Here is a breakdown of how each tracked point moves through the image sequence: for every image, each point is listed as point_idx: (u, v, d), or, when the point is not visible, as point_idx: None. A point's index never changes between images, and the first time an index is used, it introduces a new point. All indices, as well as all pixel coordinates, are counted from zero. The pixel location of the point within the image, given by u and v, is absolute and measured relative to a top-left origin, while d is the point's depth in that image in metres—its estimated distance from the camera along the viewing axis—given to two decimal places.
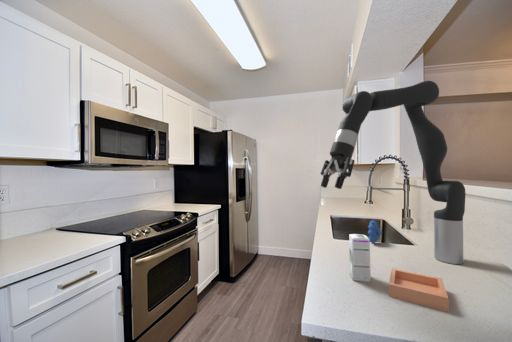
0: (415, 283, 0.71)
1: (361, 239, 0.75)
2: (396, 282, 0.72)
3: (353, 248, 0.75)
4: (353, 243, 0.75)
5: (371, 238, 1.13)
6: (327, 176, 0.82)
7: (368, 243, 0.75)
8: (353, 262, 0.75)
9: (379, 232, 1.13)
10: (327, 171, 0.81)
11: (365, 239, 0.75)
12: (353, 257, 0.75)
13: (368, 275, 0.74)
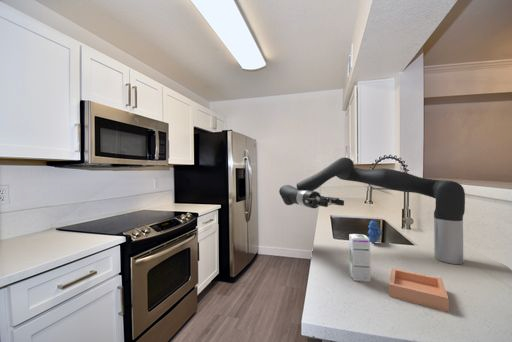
0: (415, 283, 0.71)
1: (361, 239, 0.75)
2: (396, 282, 0.72)
3: (353, 248, 0.75)
4: (353, 243, 0.75)
5: (371, 238, 1.13)
6: (335, 201, 0.93)
7: (368, 243, 0.75)
8: (353, 262, 0.75)
9: (379, 232, 1.13)
10: (330, 204, 0.94)
11: (365, 239, 0.75)
12: (353, 257, 0.75)
13: (368, 275, 0.74)
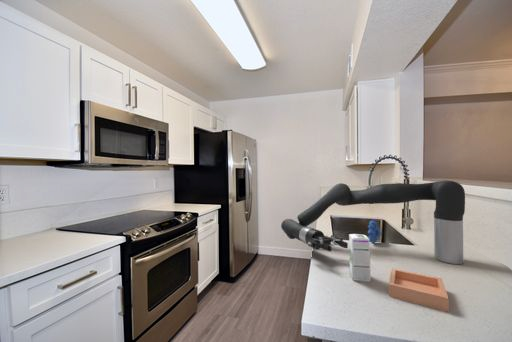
0: (415, 283, 0.71)
1: (361, 239, 0.75)
2: (396, 282, 0.72)
3: (353, 248, 0.75)
4: (353, 243, 0.75)
5: (371, 238, 1.13)
6: (338, 242, 0.92)
7: (368, 243, 0.75)
8: (353, 262, 0.75)
9: (379, 232, 1.13)
10: (333, 244, 0.92)
11: (365, 239, 0.75)
12: (353, 257, 0.75)
13: (368, 275, 0.74)
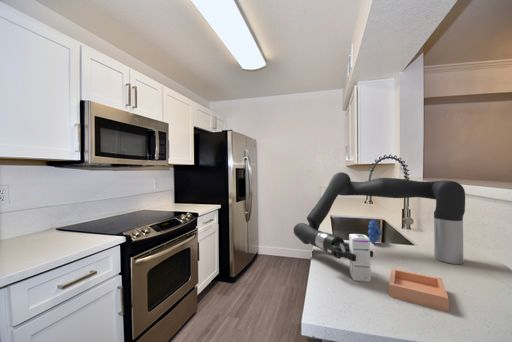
0: (415, 283, 0.71)
1: (361, 239, 0.75)
2: (396, 282, 0.72)
3: (353, 248, 0.75)
4: (353, 243, 0.75)
5: (371, 238, 1.13)
6: None
7: (368, 243, 0.75)
8: (353, 262, 0.75)
9: (379, 232, 1.13)
10: None
11: (365, 239, 0.75)
12: None
13: (368, 274, 0.74)
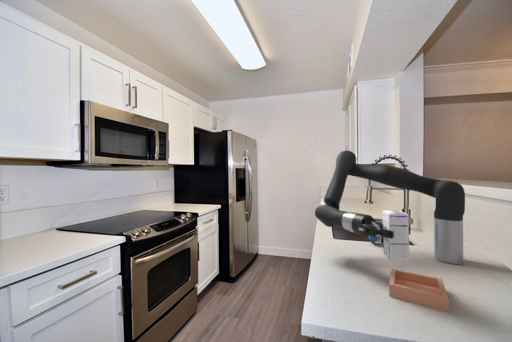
0: (415, 283, 0.71)
1: (399, 214, 0.69)
2: (396, 282, 0.72)
3: (390, 224, 0.69)
4: (390, 219, 0.69)
5: (371, 238, 1.13)
6: None
7: (406, 218, 0.68)
8: (390, 239, 0.69)
9: None
10: None
11: (403, 214, 0.68)
12: None
13: (407, 253, 0.68)
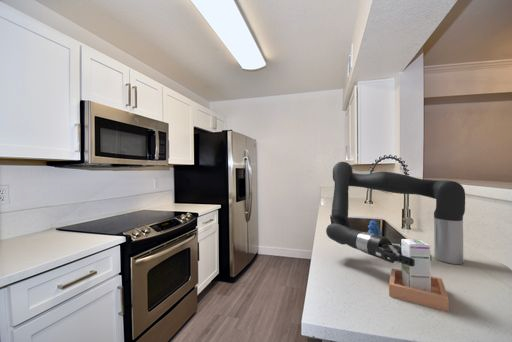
0: None
1: (420, 245, 0.65)
2: (396, 282, 0.72)
3: (410, 255, 0.66)
4: (410, 250, 0.66)
5: None
6: None
7: (428, 250, 0.65)
8: (410, 272, 0.66)
9: (379, 232, 1.13)
10: None
11: (425, 245, 0.65)
12: (410, 266, 0.66)
13: (428, 286, 0.65)
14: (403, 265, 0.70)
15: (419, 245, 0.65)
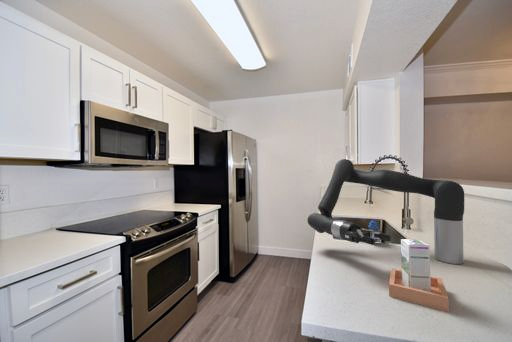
0: None
1: (419, 245, 0.65)
2: (396, 282, 0.72)
3: (410, 256, 0.66)
4: (410, 250, 0.66)
5: None
6: (378, 235, 0.83)
7: (428, 250, 0.65)
8: (410, 272, 0.66)
9: None
10: (373, 238, 0.84)
11: (424, 245, 0.65)
12: (410, 266, 0.66)
13: (428, 286, 0.65)
14: (403, 265, 0.70)
15: (418, 245, 0.65)
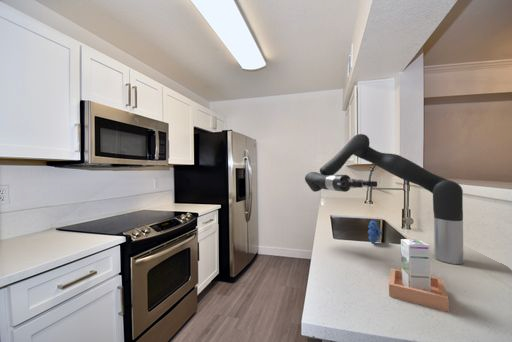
0: None
1: (419, 245, 0.65)
2: (396, 282, 0.72)
3: (410, 256, 0.66)
4: (410, 250, 0.66)
5: (371, 238, 1.13)
6: (367, 183, 0.93)
7: (428, 250, 0.65)
8: (410, 272, 0.66)
9: (379, 232, 1.13)
10: (362, 186, 0.94)
11: (424, 245, 0.65)
12: (410, 266, 0.66)
13: (428, 286, 0.65)
14: (403, 265, 0.70)
15: (418, 245, 0.65)
